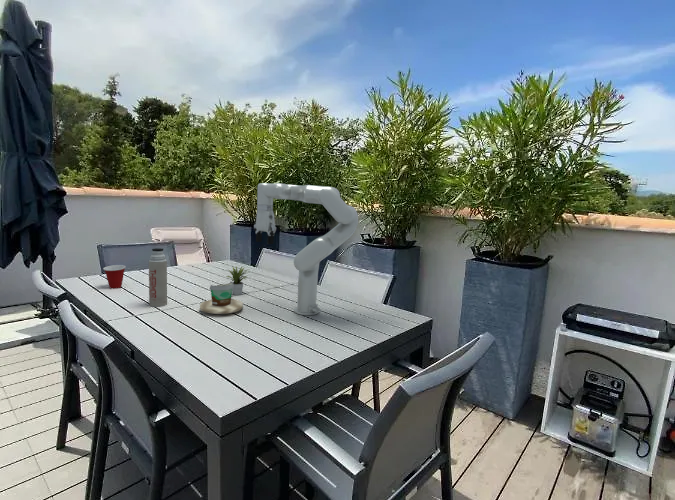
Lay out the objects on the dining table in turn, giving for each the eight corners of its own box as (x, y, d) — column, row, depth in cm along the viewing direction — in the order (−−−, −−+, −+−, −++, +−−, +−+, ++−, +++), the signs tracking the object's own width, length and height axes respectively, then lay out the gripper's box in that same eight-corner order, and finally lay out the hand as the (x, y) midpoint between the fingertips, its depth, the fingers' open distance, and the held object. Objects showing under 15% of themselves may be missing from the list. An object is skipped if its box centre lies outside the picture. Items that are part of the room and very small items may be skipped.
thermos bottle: (156, 307, 174) (155, 250, 170) (145, 304, 178) (144, 248, 174) (170, 304, 181) (170, 248, 177) (160, 301, 185) (159, 247, 181)
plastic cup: (99, 288, 202) (98, 267, 200) (116, 284, 212) (115, 264, 210) (114, 290, 198) (113, 269, 197) (130, 286, 209) (130, 266, 207)
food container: (217, 308, 168) (217, 287, 167) (209, 305, 172) (209, 285, 171) (238, 303, 178) (239, 283, 177) (230, 300, 182) (231, 281, 180)
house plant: (246, 298, 198) (246, 269, 196) (220, 296, 199) (221, 267, 196) (252, 291, 213) (253, 264, 210) (229, 290, 213) (229, 263, 210)
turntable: (236, 302, 190) (236, 285, 189) (248, 313, 173) (248, 295, 172) (196, 306, 179) (196, 289, 178) (204, 318, 163) (204, 299, 161)
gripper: (281, 209, 176) (281, 244, 179) (261, 207, 188) (260, 240, 190) (269, 209, 171) (268, 245, 173) (248, 207, 182) (248, 241, 185)
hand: (264, 242), depth 182 cm, fingers open, 9 cm apart
